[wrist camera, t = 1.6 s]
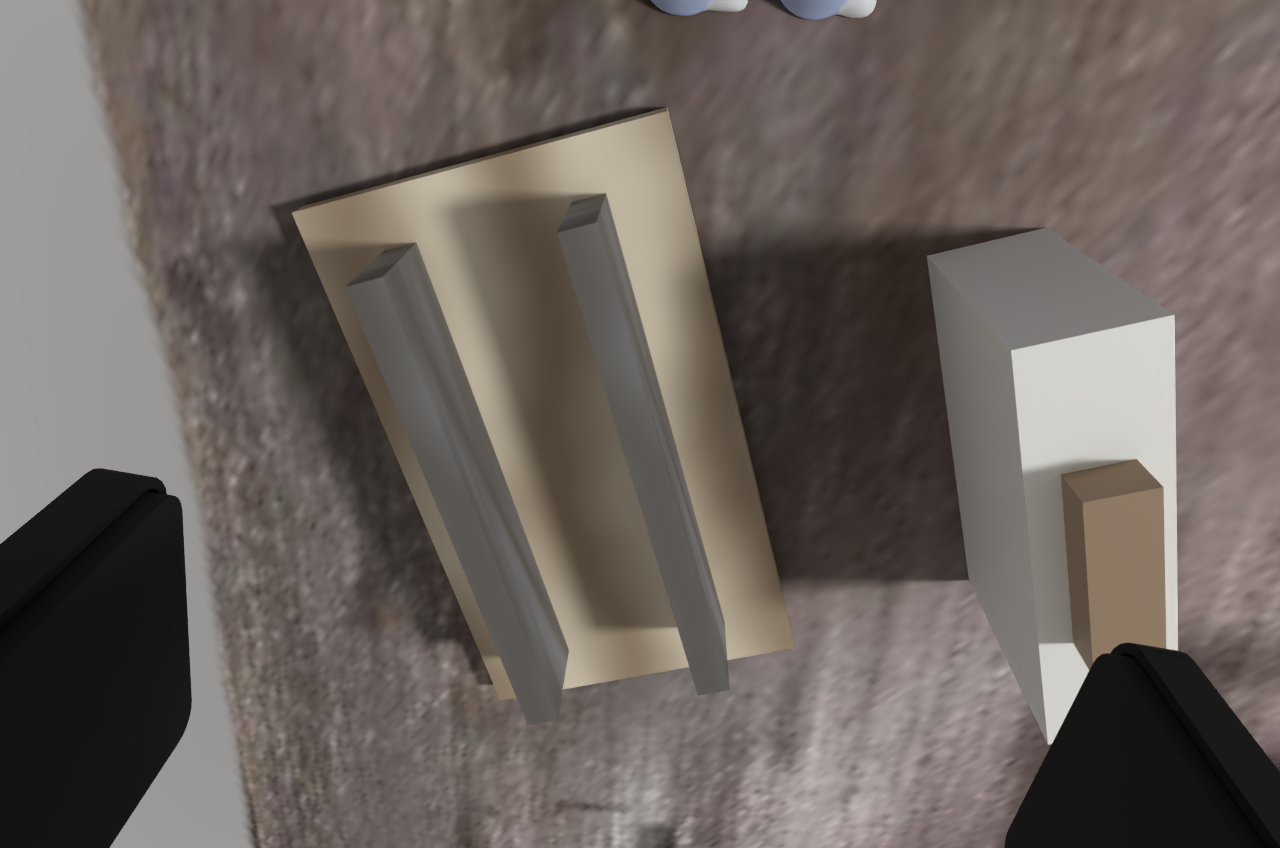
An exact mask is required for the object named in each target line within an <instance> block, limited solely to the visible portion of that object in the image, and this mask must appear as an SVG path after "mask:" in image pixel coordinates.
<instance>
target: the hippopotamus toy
mask: <svg viewBox="0 0 1280 848" xmlns="http://www.w3.org/2000/svg"><path fill="white" fill-rule="evenodd" d="M780 1H781V2H782V3H783V5H784V6H785V7H786V8H787V9H788V10H789V11H790V12H792V13H793V14H795V15H796V16H798V17H801V18H804V19H811V20H818V19H824V18H827V17H830V16H832V15H842V16H845V17H850V18H861V17H865V16H868V15H869V14H870V13H872V11H873V10H874V8H875V5H876V1H877V0H780ZM651 2H652V3H653V4H654V5H656V6H657V7H658V8H659V9H661V10H662V11H664V12H667V13H669V14H674V15H694V14H697V13H699V12H702V11H705V10H714V11H724V12H737V11H741V10H743V9H744V8H745V7H746V5H747V3H748V0H651Z"/></svg>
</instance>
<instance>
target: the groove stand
mask: <svg viewBox="0 0 1280 848" xmlns="http://www.w3.org/2000/svg"><path fill="white" fill-rule="evenodd" d="M292 215H293V217H294V219H295V222H296V224H297V226H298V229H299V231H300V233H301V236H302V238H303V240H304V243H305V245H306V247H307V250H308V252H309V254H310V257H311V259H312V261H313V264H314V266H315V268H316V271H317V273H318V275H319V278H320V280H321V282H322V285H323V287H324V289H325V292H326V294H327V296H328V299H329V301H330V303H331V306H332V308H333V310H334V313H335V315H336V317H337V320H338V322H339V324H340V327H341V329H342V331H343V334H344V336H345V338H346V341H347V343H348V345H349V348H350V350H351V352H352V355H353V357H354V360H355V362H356V364H357V367H358V369H359V371H360V374H361V376H362V378H363V381H364V383H365V385H366V388H367V390H368V392H369V395H370V397H371V399H372V402H373V404H374V406H375V409H376V411H377V413H378V416H379V418H380V420H381V423H382V425H383V427H384V430H385V432H386V434H387V437H388V439H389V441H390V444H391V446H392V448H393V451H394V453H395V455H396V458H397V460H398V462H399V465H400V467H401V469H402V472H403V474H404V476H405V479H406V481H407V483H408V486H409V488H410V490H411V493H412V495H413V497H414V500H415V502H416V505H417V507H418V509H419V512H420V514H421V516H422V519H423V521H424V523H425V526H426V528H427V530H428V533H429V535H430V537H431V540H432V542H433V544H434V547H435V549H436V551H437V554H438V556H439V558H440V561H441V563H442V565H443V568H444V570H445V572H446V575H447V577H448V579H449V582H450V584H451V586H452V589H453V591H454V593H455V596H456V598H457V600H458V603H459V605H460V607H461V610H462V612H463V614H464V617H465V619H466V621H467V624H468V626H469V628H470V631H471V633H472V635H473V638H474V640H475V642H476V645H477V647H478V649H479V652H480V654H481V657H482V659H483V661H484V664H485V666H486V668H487V671H488V673H489V675H490V678H491V680H492V682H493V685H494V687H495V689H496V692H497V694H498V696H499V699H500V700H506V699H512V698H517V700H518V702H519V705H520V707H521V709H522V712H523V714H524V717H525V719H526V721H527V724H528V725H529V724H535V723H541V722H547V721H553V720H558V715H559V708H560V702H561V696H562V690H563V689H568V688H573V687H579V686H585V685H590V684H596V683H602V682H607V681H613V680H618V679H624V678H630V677H635V676H641V675H647V674H652V673H658V672H663V671H669V670H675V669H680V668H686V667H689V668H690V671H691V674H692V678H693V681H694V684H695V687H696V691H697V694H698V695H703V694H709V693H714V692H720V691H726V690H729V677H728V663H727V660H731V659H736V658H742V657H748V656H753V655H759V654H765V653H770V652H776V651H781V650H787V649H793V648H795V645H794V639H793V634H792V629H791V625H790V621H789V616H788V612H787V608H786V604H785V600H784V595H783V591H782V587H781V583H780V579H779V574H778V570H777V566H776V562H775V558H774V553H773V549H772V545H771V541H770V537H769V532H768V528H767V524H766V520H765V516H764V511H763V507H762V503H761V499H760V495H759V490H758V486H757V482H756V478H755V474H754V469H753V465H752V461H751V457H750V453H749V448H748V444H747V440H746V436H745V432H744V427H743V423H742V419H741V415H740V411H739V406H738V402H737V398H736V394H735V390H734V385H733V381H732V377H731V373H730V369H729V364H728V360H727V356H726V352H725V348H724V343H723V339H722V335H721V331H720V327H719V322H718V318H717V314H716V310H715V306H714V301H713V297H712V293H711V289H710V285H709V280H708V276H707V272H706V268H705V264H704V259H703V255H702V251H701V247H700V243H699V238H698V234H697V230H696V226H695V222H694V217H693V213H692V209H691V205H690V201H689V196H688V192H687V188H686V184H685V180H684V175H683V171H682V167H681V163H680V159H679V154H678V150H677V146H676V142H675V138H674V133H673V129H672V125H671V121H670V117H669V112H668V108H667V107H666V108H662V109H658V110H655V111H651V112H647V113H644V114H640V115H636V116H633V117H629V118H625V119H622V120H618V121H614V122H611V123H607V124H603V125H599V126H596V127H592V128H588V129H585V130H581V131H577V132H574V133H570V134H566V135H563V136H559V137H555V138H552V139H548V140H544V141H540V142H537V143H533V144H529V145H526V146H522V147H518V148H515V149H511V150H507V151H504V152H500V153H496V154H493V155H489V156H485V157H482V158H478V159H474V160H470V161H467V162H463V163H459V164H456V165H452V166H448V167H445V168H441V169H437V170H434V171H430V172H426V173H423V174H419V175H415V176H411V177H408V178H404V179H400V180H397V181H393V182H389V183H386V184H382V185H378V186H375V187H371V188H367V189H364V190H360V191H356V192H353V193H349V194H345V195H341V196H338V197H334V198H330V199H327V200H323V201H319V202H316V203H312V204H308V205H305V206H302V207H300V208H299V209H297V210H295V211H294V212H292Z"/></svg>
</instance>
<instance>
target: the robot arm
mask: <svg viewBox="0 0 1280 848" xmlns="http://www.w3.org/2000/svg"><path fill="white" fill-rule="evenodd" d="M183 537H184V536H183V516H182V507H181V503H180V501H179V499H178V498H177V497H175V496H172V495H167V493H166V488H165V486H164V484H163V483H162V481H161V480H159V479H158V478H154V477H148V476H143V475H137V474H131V473H125V472H119V471H113V470H107V469H93V470H91V471H90V472H88V473H86V474H85V475H84V476H82V477H81V478H80V479H79V480H78V481H76V482H75V483H74V484H73V485H71V487H69V488H68V489H67V490H66V491H64V492H63V493H62V494H61V495H60V496H58V497H57V498H56V499H55V500H53V501H52V502H51V503H50V504H48V505H47V506H46V507H45V508H44V509H43V510H41V511H40V512H39V513H38V514H36V515H35V516H34V517H33V518H32V519H30V520H29V521H28V522H27V523H25V524H24V525H23V526H22V527H21V528H19V529H18V530H17V531H16V532H15V533H13V534H12V535H11V536H10V537H8V538H7V539H6V540H5V541H4V542H3V543H1V544H0V848H110V846H111V844H112V843H113V841H114V840H115V839H116V837H117V835H118V834H119V832H120V831H121V829H122V828H123V826H124V825H125V823H126V822H127V820H128V818H129V817H130V816H131V814H132V812H133V811H134V810H135V808H136V807H137V805H138V803H139V802H140V800H141V799H142V797H143V796H144V794H145V793H146V791H147V790H148V788H149V787H150V785H151V784H152V782H153V781H154V779H155V778H156V776H157V774H158V773H159V771H160V770H161V768H162V767H163V765H164V763H165V762H166V761H167V759H168V758H169V756H170V755H171V753H172V752H173V750H174V749H175V747H176V746H177V744H178V742H179V741H180V739H181V737H182V736H183V734H184V731H185V729H186V726H187V723H188V720H189V716H190V711H191V701H192V698H191V678H190V657H189V637H188V617H187V597H186V576H185V556H184V538H183ZM1005 848H1280V772H1279V771H1278V769H1277V768H1276V767H1275V765H1274V764H1273V763H1272V761H1271V760H1270V759H1269V758H1268V756H1267V755H1266V754H1265V752H1264V751H1263V750H1262V748H1261V747H1260V746H1259V745H1258V743H1257V742H1256V741H1255V739H1254V738H1253V737H1252V736H1251V734H1250V733H1249V732H1248V730H1247V729H1246V728H1245V726H1244V725H1243V724H1242V723H1241V721H1240V720H1239V719H1238V717H1237V716H1236V715H1235V713H1234V712H1233V711H1232V710H1231V708H1230V707H1229V706H1228V704H1227V703H1226V702H1225V700H1224V699H1223V698H1222V697H1221V695H1220V694H1219V693H1218V691H1217V690H1216V689H1215V688H1214V686H1213V685H1212V684H1211V682H1210V681H1209V680H1208V678H1207V677H1206V676H1205V675H1204V673H1203V672H1202V671H1201V669H1200V668H1199V667H1198V665H1197V664H1196V663H1195V662H1194V660H1192V659H1191V658H1190V657H1189V656H1188V655H1187V654H1186V653H1183V652H1180V651H1177V650H1171V649H1165V648H1159V647H1153V646H1147V645H1141V644H1135V643H1129V642H1127V643H1121V644H1119V645H1118V646H1116V647H1115V648H1114V649H1113V650H1112V651H1111V653H1110V654H1109V653H1106V654H1101V655H1100V656H1099V657H1097V658H1096V660H1095V661H1094V663H1093V664H1092V666H1091V668H1090V670H1089V672H1088V674H1087V676H1086V678H1085V680H1084V682H1083V684H1082V686H1081V688H1080V690H1079V692H1078V694H1077V696H1076V698H1075V700H1074V702H1073V704H1072V706H1071V708H1070V709H1069V711H1068V713H1067V715H1066V717H1065V719H1064V721H1063V723H1062V725H1061V727H1060V729H1059V731H1058V733H1057V735H1056V737H1055V739H1054V741H1053V743H1052V745H1051V747H1050V749H1049V751H1048V753H1047V755H1046V757H1045V759H1044V761H1043V763H1042V765H1041V767H1040V769H1039V771H1038V773H1037V774H1036V776H1035V778H1034V780H1033V782H1032V784H1031V786H1030V788H1029V790H1028V792H1027V794H1026V796H1025V798H1024V800H1023V802H1022V804H1021V806H1020V808H1019V810H1018V812H1017V814H1016V816H1015V818H1014V820H1013V822H1012V824H1011V826H1010V828H1009V830H1008V833H1007V835H1006V840H1005Z"/></svg>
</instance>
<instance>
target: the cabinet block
mask: <svg viewBox="0 0 1280 848" xmlns="http://www.w3.org/2000/svg"><path fill="white" fill-rule="evenodd" d="M927 261H928V269H929V277H930V284H931V292H932V300H933V307H934V315H935V323H936V331H937V338H938V346H939V354H940V361H941V369H942V377H943V385H944V392H945V400H946V408H947V415H948V423H949V431H950V438H951V446H952V454H953V462H954V469H955V477H956V485H957V492H958V500H959V508H960V516H961V523H962V531H963V539H964V546H965V554H966V562H967V569H968V577H969V581H970V583H971V586H972V588H973V590H974V592H975V594H976V596H977V598H978V600H979V602H980V604H981V606H982V608H983V611H984V613H985V615H986V617H987V619H988V621H989V623H990V625H991V627H992V629H993V631H994V633H995V635H996V638H997V640H998V642H999V644H1000V646H1001V648H1002V650H1003V652H1004V654H1005V656H1006V658H1007V660H1008V663H1009V665H1010V667H1011V669H1012V671H1013V673H1014V675H1015V677H1016V679H1017V681H1018V683H1019V685H1020V687H1021V690H1022V692H1023V694H1024V696H1025V698H1026V700H1027V702H1028V704H1029V706H1030V708H1031V710H1032V712H1033V715H1034V717H1035V719H1036V721H1037V723H1038V725H1039V727H1040V729H1041V731H1042V733H1043V735H1044V737H1045V739H1046V742H1047V744H1048V745H1049V744H1052V743H1053V741H1054V739H1055V737H1056V735H1057V733H1058V731H1059V729H1060V727H1061V725H1062V723H1063V721H1064V719H1065V717H1066V715H1067V713H1068V711H1069V709H1070V708H1071V706H1072V704H1073V702H1074V700H1075V698H1076V696H1077V694H1078V692H1079V690H1080V688H1081V686H1082V684H1083V682H1084V680H1085V678H1086V676H1087V674H1088V672H1089V670H1090V668H1091V666H1092V664H1093V663H1094V661H1095V660H1096V658H1097V657H1099V656H1100V655H1101V654H1106V653H1109V654H1110V653H1111V651H1112V650H1113V649H1114V648H1115V647H1116V646H1118V645H1119V644H1121V643H1127V642H1129V643H1135V644H1141V645H1147V646H1153V647H1159V648H1165V649H1171V650H1177V651H1178V602H1177V507H1176V413H1175V319H1174V314H1173V313H1171V312H1170V311H1168V310H1167V309H1165V308H1164V307H1162V306H1161V305H1159V304H1158V303H1156V302H1155V301H1153V300H1152V299H1150V298H1149V297H1147V296H1146V295H1145V294H1143V293H1142V292H1140V291H1139V290H1137V289H1136V288H1134V287H1133V286H1131V285H1130V284H1128V283H1127V282H1125V281H1124V280H1122V279H1121V278H1120V277H1118V276H1117V275H1115V274H1114V273H1112V272H1111V271H1109V270H1108V269H1106V268H1105V267H1103V266H1102V265H1100V264H1099V263H1097V262H1096V261H1094V260H1093V259H1092V258H1090V257H1089V256H1087V255H1086V254H1084V253H1083V252H1081V251H1080V250H1078V249H1077V248H1075V247H1074V246H1072V245H1071V244H1069V243H1068V242H1067V241H1065V240H1064V239H1062V238H1061V237H1059V236H1058V235H1056V234H1055V233H1053V232H1052V231H1050V230H1049V229H1047V228H1042V229H1038V230H1034V231H1030V232H1026V233H1021V234H1017V235H1013V236H1009V237H1004V238H1000V239H996V240H992V241H987V242H983V243H979V244H975V245H971V246H966V247H962V248H958V249H954V250H949V251H945V252H941V253H937V254H933V255H928V256H927Z"/></svg>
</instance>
